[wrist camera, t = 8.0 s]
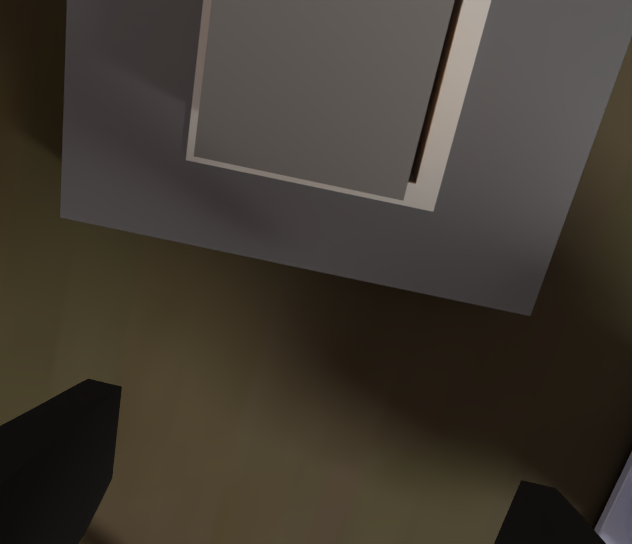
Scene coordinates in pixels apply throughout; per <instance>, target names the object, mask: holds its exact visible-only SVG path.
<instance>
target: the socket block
mask: <svg viewBox="0 0 632 544" xmlns="http://www.w3.org/2000/svg"><path fill="white" fill-rule="evenodd" d="M211 3H212V0H67V14H66V45H65V77H64V109H63V141H62V172H61V204H60V218H65V219H70V220H74V221H79V222H84V223H89V224H93V225H98V226H103V227H108V228H113V229H117V230H122V231H127V232H132V233H136V234H141V235H146V236H151V237H155V238H160V239H165V240H170V241H174V242H179V243H184V244H189V245H194V246H198V247H203V248H208V249H213V250H217V251H222V252H227V253H232V254H236V255H241V256H246V257H251V258H255V259H260V260H265V261H270V262H275V263H279V264H284V265H289V266H294V267H298V268H303V269H308V270H313V271H317V272H322V273H327V274H332V275H336V276H341V277H346V278H351V279H356V280H360V281H365V282H370V283H375V284H379V285H384V286H389V287H394V288H398V289H403V290H408V291H413V292H417V293H422V294H427V295H432V296H437V297H441V298H446V299H451V300H456V301H460V302H465V303H470V304H475V305H479V306H484V307H489V308H494V309H498V310H503V311H508V312H513V313H518V314H522V315H527V316H531V313H532V310H533V307H534V305H535V302H536V299H537V296H538V294H539V291H540V288H541V285H542V283H543V280H544V277H545V274H546V271H547V269H548V266H549V263H550V260H551V258H552V255H553V252H554V249H555V247H556V244H557V241H558V238H559V236H560V233H561V230H562V227H563V225H564V222H565V219H566V216H567V214H568V211H569V208H570V205H571V202H572V200H573V197H574V194H575V191H576V189H577V186H578V183H579V180H580V178H581V175H582V172H583V169H584V167H585V164H586V161H587V158H588V156H589V153H590V150H591V147H592V145H593V142H594V139H595V136H596V133H597V131H598V128H599V125H600V122H601V120H602V117H603V114H604V111H605V109H606V106H607V103H608V100H609V98H610V95H611V92H612V89H613V87H614V84H615V81H616V78H617V76H618V73H619V70H620V67H621V64H622V62H623V59H624V56H625V53H626V51H627V48H628V45H629V42H630V40H631V37H632V0H455V1H454V5H453V9H452V13H451V17H450V20H449V24H448V28H447V32H446V36H445V40H444V44H443V48H442V52H441V56H440V60H439V63H438V67H437V71H436V75H435V79H434V83H433V87H432V91H431V95H430V99H429V102H428V106H427V110H426V114H425V118H424V122H423V126H422V130H421V134H420V138H419V141H418V145H417V149H416V153H415V157H414V161H413V165H412V169H411V173H410V177H409V180H408V184H407V188H406V192H405V196H404V200H403V201H402V200H397V199H393V198H388V197H383V196H379V195H374V194H369V193H364V192H360V191H355V190H350V189H345V188H341V187H336V186H331V185H327V184H322V183H317V182H312V181H308V180H303V179H298V178H293V177H289V176H284V175H279V174H275V173H270V172H265V171H260V170H256V169H251V168H246V167H241V166H237V165H232V164H227V163H223V162H218V161H213V160H208V159H204V158H199V157H194V148H195V140H196V131H197V123H198V114H199V106H200V97H201V88H202V80H203V71H204V63H205V54H206V46H207V37H208V29H209V20H210V12H211Z"/></svg>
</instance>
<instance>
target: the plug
mask: <svg viewBox="0 0 632 544" xmlns="http://www.w3.org/2000/svg"><path fill="white" fill-rule="evenodd" d="M454 1H455V0H212V3H211V12H210V20H209V29H208V37H207V46H206V54H205V63H204V71H203V80H202V88H201V97H200V106H199V114H198V123H197V131H196V140H195V148H194V157H199V158H204V159H208V160H213V161H218V162H223V163H227V164H232V165H237V166H241V167H246V168H251V169H256V170H260V171H265V172H270V173H275V174H279V175H284V176H289V177H293V178H298V179H303V180H308V181H312V182H317V183H322V184H327V185H331V186H336V187H341V188H345V189H350V190H355V191H360V192H364V193H369V194H374V195H379V196H383V197H388V198H393V199H397V200H402V201H403V200H404V196H405V192H406V188H407V184H408V180H409V177H410V173H411V169H412V165H413V161H414V157H415V153H416V149H417V145H418V141H419V138H420V134H421V130H422V126H423V122H424V118H425V114H426V110H427V106H428V102H429V99H430V95H431V91H432V87H433V83H434V79H435V75H436V71H437V67H438V63H439V60H440V56H441V52H442V48H443V44H444V40H445V36H446V32H447V28H448V24H449V20H450V17H451V13H452V9H453V5H454Z"/></svg>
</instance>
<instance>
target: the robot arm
mask: <svg viewBox="0 0 632 544" xmlns="http://www.w3.org/2000/svg"><path fill="white" fill-rule="evenodd" d="M121 389H122V387H121V386H117V385H112V384H108V383H104V382H100V381H95V380H91V379H87V380H85V381H83V382H81V383H79V384H77V385H75V386H73V387H72V388H70V389H68V390H66V391H64V392H62V393H61V394H59V395H57V396H55V397H53V398H52V399H50V400H48V401H46V402H44V403H42V404H41V405H39V406H37V407H35V408H33V409H31V410H30V411H28V412H26V413H24V414H22V415H20V416H18V417H16V418H15V419H13V420H11V421H9V422H7V423H5V424H3V425H1V426H0V544H78V543H79V541H80V540H81V538H82V537H83V535H84V533H85V532H86V530H87V528H88V526H89V524H90V522H91V520H92V518H93V516H94V514H95V512H96V510H97V508H98V506H99V504H100V502H101V500H102V498H103V496H104V494H105V492H106V490H107V488H108V486H109V484H110V481H111V479H112V474H113V465H114V455H115V446H116V436H117V427H118V417H119V408H120V398H121ZM494 544H632V452H631V454H630V456H629V458H628V460H627V462H626V465H625V467H624V469H623V471H622V473H621V475H620V477H619V479H618V481H617V483H616V485H615V488H614V490H613V492H612V494H611V496H610V498H609V500H608V502H607V504H606V506H605V508H604V511H603V513H602V515H601V517H600V519H599V521H598V523H597V525H596V527H595V529H593V528H592V527H591V526H590V525H589V524H588V523H587V521H586V520H585V519H584V518H583V517H582V516H581V515H580V514H579V512H578V511H577V510H576V509H575V508H574V507H573V506H572V505H571V504H570V503H569V502H568V501H567V499H566V498H565V497H564V496H563V495H562V494H561V493H560V492H559V491H558V490H557V489H556V488H552V487H548V486H544V485H539V484H535V483H531V482H527V481H522V480H521V482H520V485H519V487H518V489H517V492H516V494H515V496H514V499H513V501H512V503H511V506H510V508H509V510H508V513H507V515H506V517H505V520H504V522H503V524H502V527H501V529H500V531H499V534H498V536H497V538H496V541H495V543H494Z"/></svg>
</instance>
